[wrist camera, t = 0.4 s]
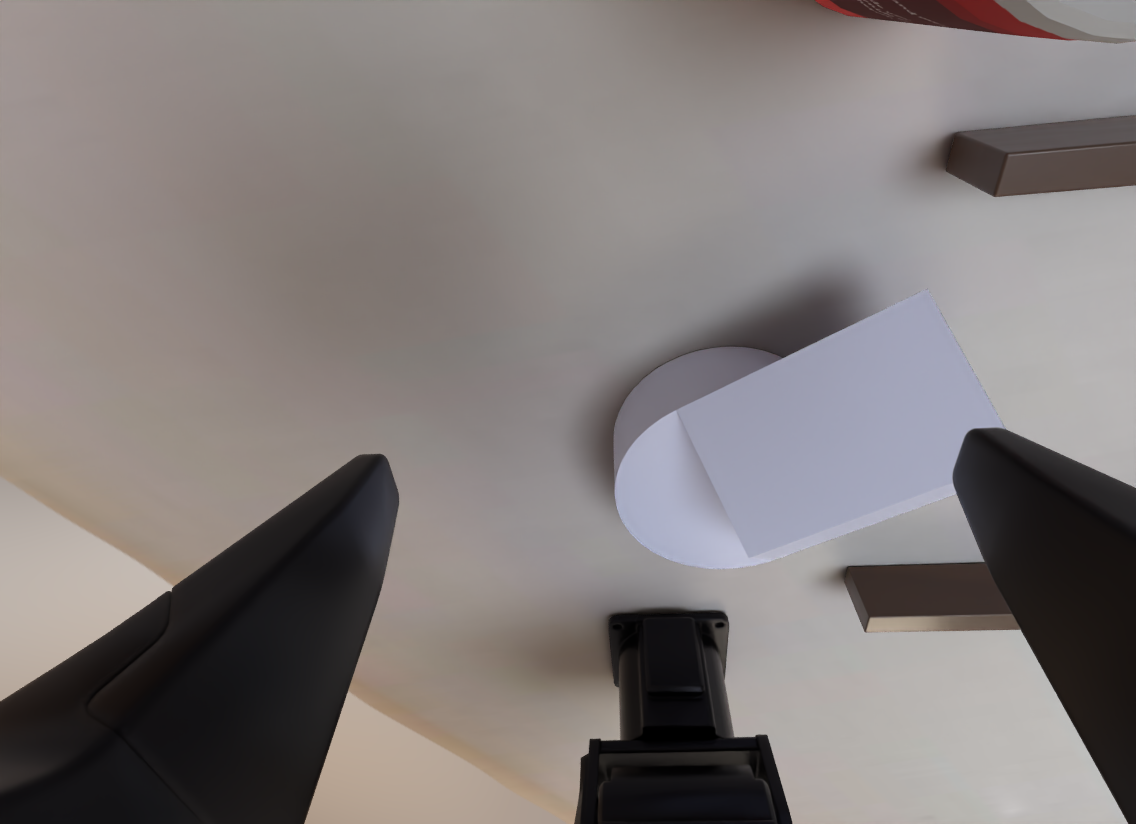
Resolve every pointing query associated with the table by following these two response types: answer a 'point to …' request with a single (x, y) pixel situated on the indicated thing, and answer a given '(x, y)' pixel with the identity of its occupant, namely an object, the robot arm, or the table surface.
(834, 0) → the canned food
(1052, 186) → the bay
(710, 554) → the wedge on round base
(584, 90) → the table surface
